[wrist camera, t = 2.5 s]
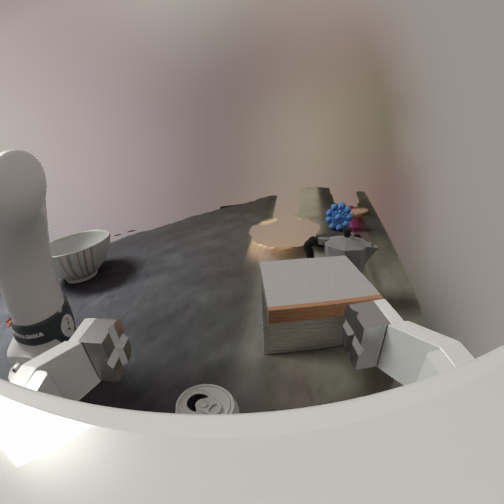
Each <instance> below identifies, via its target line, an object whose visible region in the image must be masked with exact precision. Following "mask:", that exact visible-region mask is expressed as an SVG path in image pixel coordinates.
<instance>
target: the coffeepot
mask: <svg viewBox="0 0 504 504" xmlns="http://www.w3.org/2000/svg"><path fill="white" fill-rule="evenodd" d="M343 231H344V236H332V237H330V238H326V237H313V236H312V237H310V238H309V239H308V240H307V241H306V242H305V244H304V250H305V253H306V256H307V258H314V253H313V249H312V246H313V245H315V246H319V247H323V248H325V257H332V256H346V257H347V258H348V259H349V260H350V261H351V262H352V263H353V264H354V265H355V266H356V268H357V269H358V270H359V271H360V272H361V273H363V269H364V266H365V263H366V262H367V261H368V259H369V258H370V257H371V255H372V254H373V253H374V252H375V251H376V250H378V246H377V245H374V244H373V243H369V242H366V241H365V240H364V239H361V238H357V237H353V236H350V233H351V229H350V228H344V229H343Z"/></svg>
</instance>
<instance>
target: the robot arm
mask: <svg viewBox="0 0 504 504" xmlns="http://www.w3.org/2000/svg"><path fill="white" fill-rule="evenodd" d="M45 196H46V177H45V173H44V170H43V168H42V166H41V164H40V162H39V161H38V160H37V159H36V158H35V157H34V156H33V155H31V154H30V153H28V152H26V151H23V150H19V149H10V150H5V151H3V152H0V292H1V294H2V297H3V300H4V302H5V305H6V307H7V310H8V312H9V314H10V318H9V319H8V320H7V321H6V322H5V323H7V322H9V321H10V322H9V324H8V326H7V327H10V325H12V330H13V335H14V337H13V339H12V341H11V344H10V346H9V348H8V351H7V358H8V361H9V363H10V365H11V367H12V368H11V370H10V373H9V377H8V379H9V381H10V382H8V381H6V380H3V379H0V504H504V345H503V346H500V347H499V348H497V349H495V350H493V351H491V352H489V353H486V354H485V355H482V356H480V357H478V358H476V359H474V358H473V357H472V355H471V354H470V353H469V352H468V351H467V349H466V348H464V346H463V345H462V344H461V343H460V342H459V341H457V340H455V339H452V338H450V337H447V336H444V335H442V334H440V333H437V332H435V331H432V330H430V329H427V328H424V327H422V326H420V325H417V324H415V323H412V322H410V321H404V320H403V319H402V318H401V317H400V316H399V314H398V313H397V312H396V311H395V310H394V309H393V307H392V306H391V305H390V304H389V303H388V301H387V300H386V299H378V300H373V301H369V302H363V303H357V304H350V305H346V307H345V310H344V316H345V318H346V320H347V321H346V322H345V323H344V324H343V326H342V340H343V344H344V347H345V349H346V350H347V351H349V352H351V353H350V360H351V362H352V364H353V366H354V368H355V370H359V369H364V368H370V367H375V366H377V367H378V368H379V369H381V370H382V371H383V372H385V373H386V374H388V375H389V376H391V377H392V378H394V379H395V380H397V381H398V382H400V383H401V384H402V385H404V386H401V387H398V388H394V389H391V390H387V391H383V392H379V393H376V394H372V395H368V396H363V397H359V398H354V399H350V400H345V401H340V402H335V403H329V404H324V405H318V406H311V407H304V408H297V409H289V410H280V411H270V412H257V413H240V414H178V413H160V412H148V411H138V410H129V409H121V408H114V407H107V406H101V405H95V404H90V403H85V402H80V401H79V400H80V399H81V398H83V397H84V396H85V395H86V394H87V393H88V392H89V391H90V390H92V389H93V388H94V387H95V386H96V385H97V384H98V383H100V382H101V381H113V382H120V380H121V378H122V375H123V373H124V371H125V369H124V367H123V365H125V364H126V363H127V362H129V359H130V357H131V346H130V342H129V339H128V338H127V337H126V336H125V335H124V334H123V332H124V330H125V328H124V325H123V323H122V321H121V320H119V319H101V318H98V319H97V318H86V319H84V321H83V322H82V323H81V325H80V326H79V327H77V325H76V323H75V321H74V317H73V313H72V311H71V308H70V304H69V302H68V300H67V298H66V296H65V295H63V293H62V290H61V287H60V284H59V281H58V277H57V274H56V271H55V267H54V264H53V260H52V256H51V251H50V244H49V235H48V222H47V211H46V200H45ZM100 380H101V381H100Z"/></svg>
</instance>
